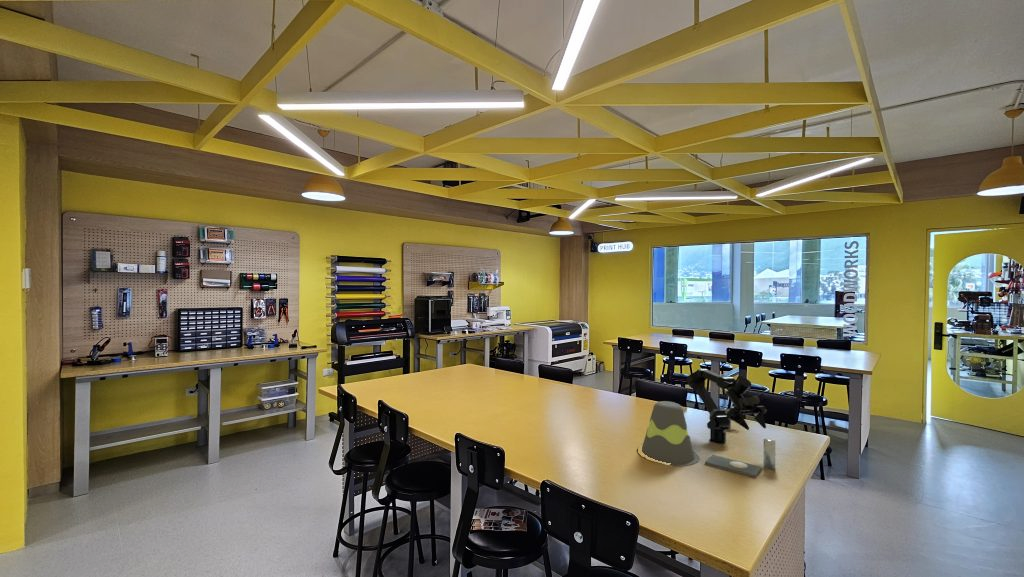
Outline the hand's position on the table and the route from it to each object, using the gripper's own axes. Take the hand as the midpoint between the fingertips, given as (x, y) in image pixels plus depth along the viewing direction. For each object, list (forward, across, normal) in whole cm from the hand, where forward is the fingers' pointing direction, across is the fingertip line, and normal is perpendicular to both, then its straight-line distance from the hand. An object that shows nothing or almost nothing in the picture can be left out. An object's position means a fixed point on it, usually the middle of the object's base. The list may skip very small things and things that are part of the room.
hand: (757, 428), depth 193 cm
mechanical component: (-22, +22, +39) cm, 50 cm away
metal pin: (+16, -1, +5) cm, 16 cm away
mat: (+12, -16, +8) cm, 22 cm away
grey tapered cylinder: (-2, -36, +22) cm, 42 cm away
